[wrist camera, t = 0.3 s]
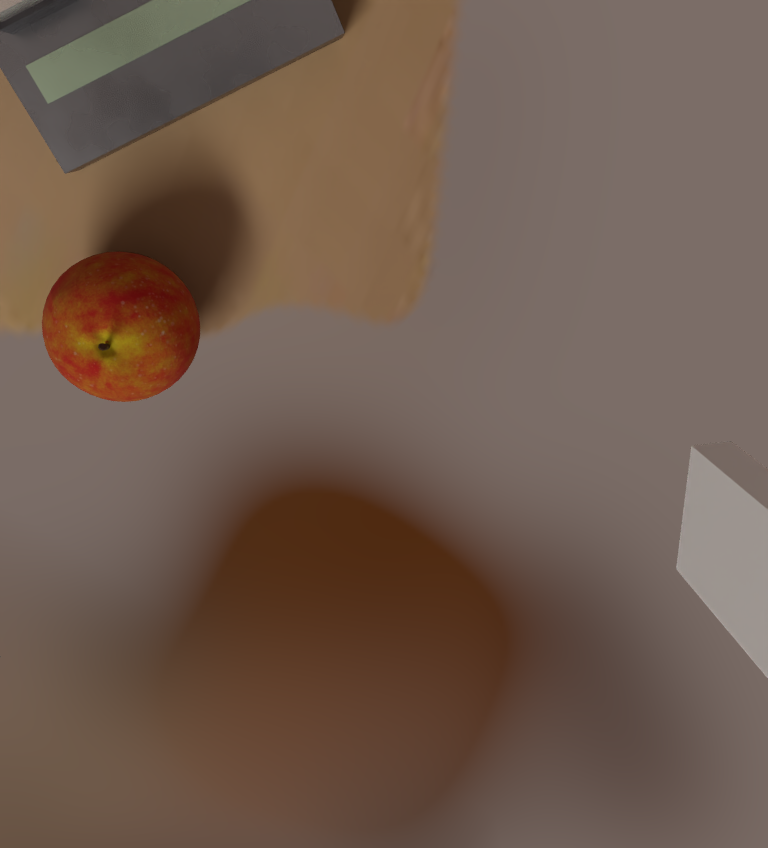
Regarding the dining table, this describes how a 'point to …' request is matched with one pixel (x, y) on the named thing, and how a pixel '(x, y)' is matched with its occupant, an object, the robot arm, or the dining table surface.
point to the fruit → (121, 326)
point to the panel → (144, 61)
